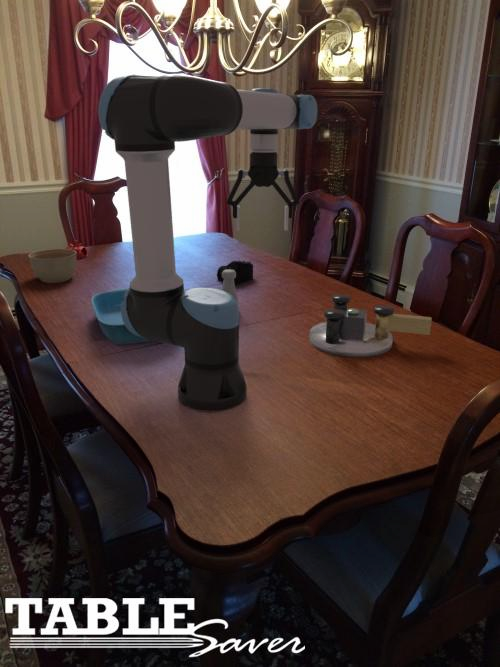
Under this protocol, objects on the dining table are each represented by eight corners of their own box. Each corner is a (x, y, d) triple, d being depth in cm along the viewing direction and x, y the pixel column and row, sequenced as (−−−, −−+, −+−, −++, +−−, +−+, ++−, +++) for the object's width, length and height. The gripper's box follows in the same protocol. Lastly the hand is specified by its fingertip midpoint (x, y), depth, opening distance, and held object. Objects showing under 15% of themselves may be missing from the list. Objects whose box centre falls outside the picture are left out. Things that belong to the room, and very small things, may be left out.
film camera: (236, 277, 210) (236, 254, 206) (256, 282, 204) (256, 258, 201) (208, 286, 199) (208, 261, 195) (229, 291, 193) (229, 266, 190)
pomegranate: (60, 262, 229) (57, 239, 226) (83, 258, 235) (81, 237, 232) (68, 266, 222) (66, 243, 218) (92, 263, 228) (90, 241, 224)
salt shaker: (235, 314, 169) (235, 273, 165) (217, 313, 170) (217, 272, 166) (240, 308, 175) (240, 268, 170) (222, 307, 176) (222, 267, 171)
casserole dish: (89, 311, 172) (87, 289, 169) (160, 304, 179) (159, 282, 177) (103, 355, 140) (100, 329, 137) (189, 344, 147) (188, 319, 144)
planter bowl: (71, 275, 210) (68, 246, 206) (85, 285, 198) (82, 255, 194) (27, 281, 202) (23, 251, 198) (38, 292, 189) (34, 260, 185)
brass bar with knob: (370, 338, 145) (373, 310, 143) (372, 331, 150) (374, 304, 147) (428, 344, 142) (432, 316, 139) (428, 337, 146) (432, 309, 144)
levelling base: (390, 361, 137) (394, 323, 134) (302, 351, 143) (304, 314, 139) (393, 331, 157) (397, 297, 153) (316, 323, 163) (318, 290, 159)
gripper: (307, 150, 154) (303, 227, 162) (217, 150, 153) (218, 227, 160) (311, 152, 147) (307, 232, 155) (217, 151, 146) (218, 232, 153)
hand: (262, 229), depth 157 cm, fingers open, 13 cm apart
